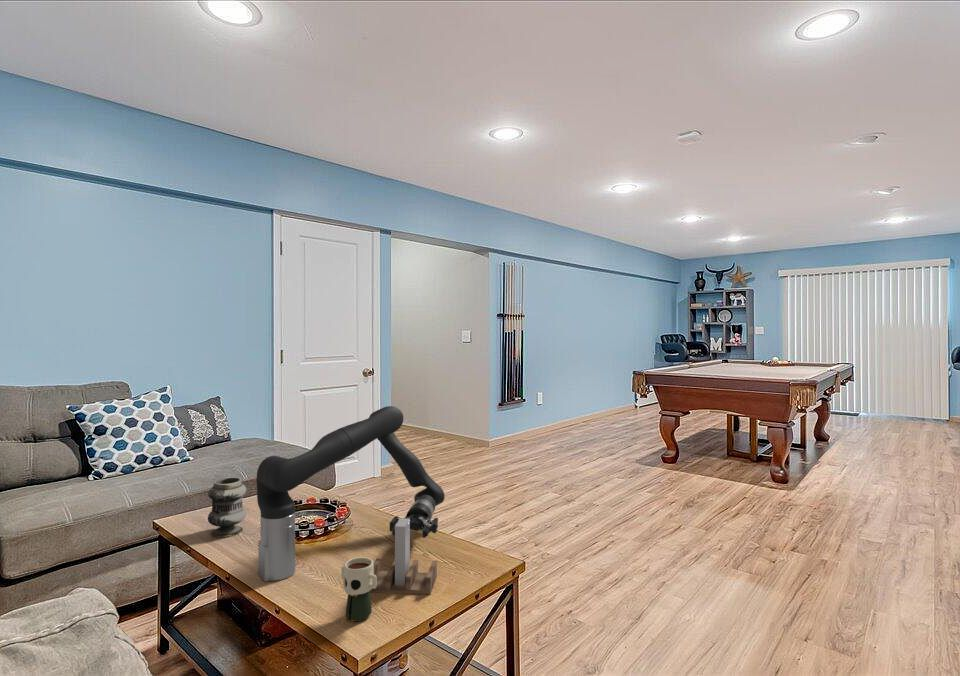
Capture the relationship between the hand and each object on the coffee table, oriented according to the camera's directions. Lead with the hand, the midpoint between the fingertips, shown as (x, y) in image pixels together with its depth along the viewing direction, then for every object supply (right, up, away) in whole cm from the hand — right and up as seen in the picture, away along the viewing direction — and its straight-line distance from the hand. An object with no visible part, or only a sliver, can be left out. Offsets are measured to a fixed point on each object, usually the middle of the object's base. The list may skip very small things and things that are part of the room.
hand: (409, 534), depth 152 cm
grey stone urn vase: (-66, -10, +28) cm, 73 cm away
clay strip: (-1, -10, -8) cm, 13 cm away
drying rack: (-1, -11, -8) cm, 13 cm away
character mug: (-9, -11, -24) cm, 28 cm away
